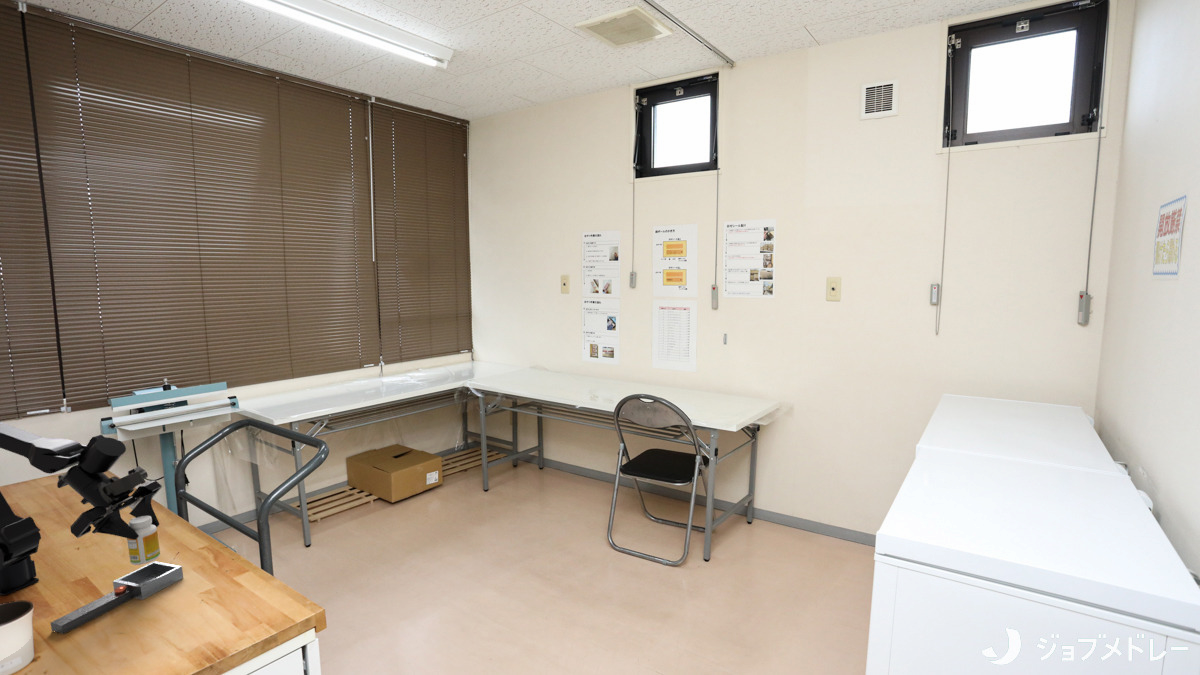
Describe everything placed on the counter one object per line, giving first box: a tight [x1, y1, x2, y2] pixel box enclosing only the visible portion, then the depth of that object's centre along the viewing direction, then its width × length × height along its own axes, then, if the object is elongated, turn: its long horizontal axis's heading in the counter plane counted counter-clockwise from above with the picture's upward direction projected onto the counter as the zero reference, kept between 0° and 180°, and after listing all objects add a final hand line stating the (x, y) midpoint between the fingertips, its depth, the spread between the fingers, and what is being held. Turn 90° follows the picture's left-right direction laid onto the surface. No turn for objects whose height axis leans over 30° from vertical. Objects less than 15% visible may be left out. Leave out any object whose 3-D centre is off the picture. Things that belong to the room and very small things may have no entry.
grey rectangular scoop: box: [50, 560, 184, 635], centre depth 124 cm, size 22×9×3 cm, turn 162°
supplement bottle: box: [126, 516, 161, 566], centre depth 129 cm, size 5×5×10 cm
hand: (147, 531), depth 128 cm, fingers closed on supplement bottle, 5 cm apart
